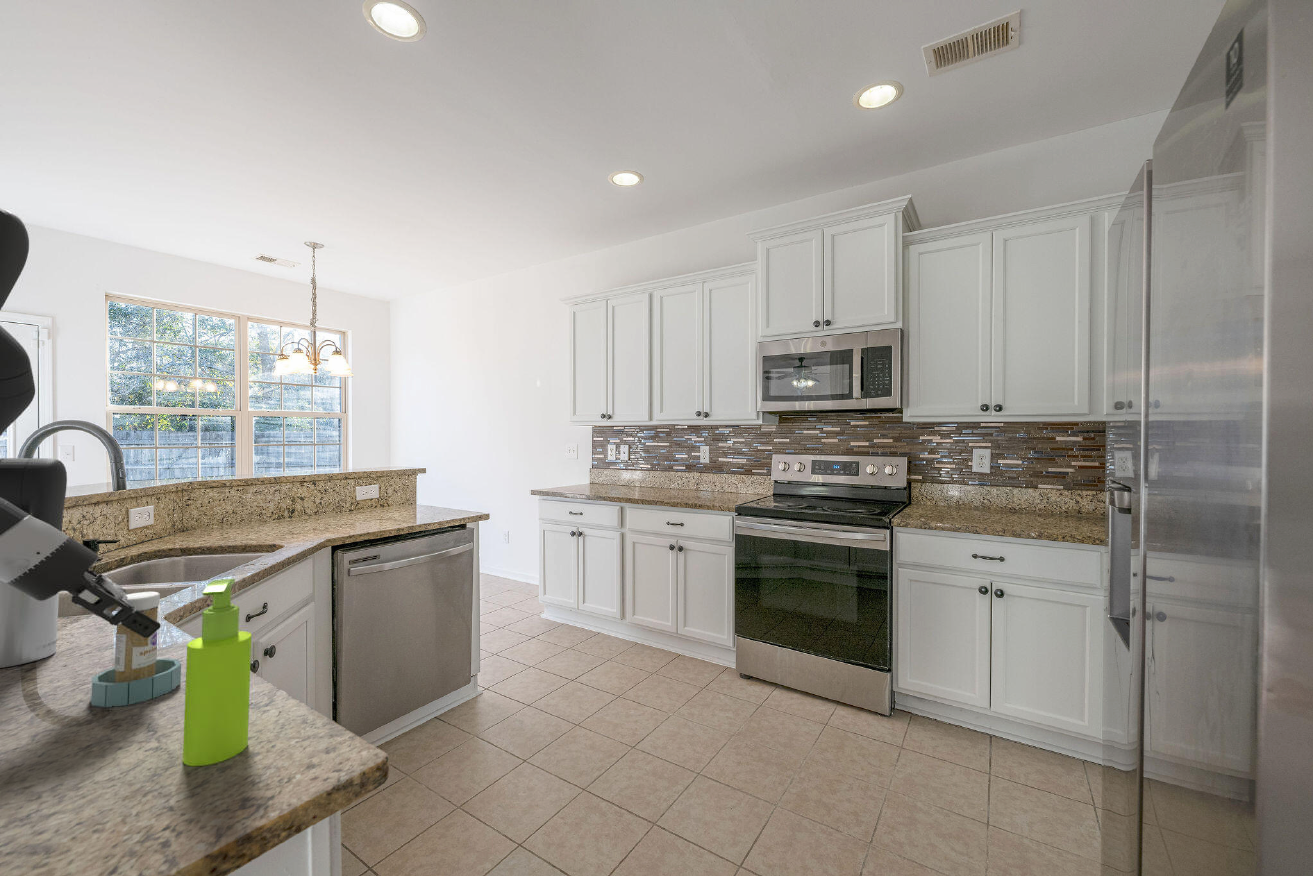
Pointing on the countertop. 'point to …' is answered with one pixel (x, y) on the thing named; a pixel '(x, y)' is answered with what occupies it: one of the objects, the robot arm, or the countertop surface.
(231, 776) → the countertop surface
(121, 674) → the sprinkles bottle
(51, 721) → the countertop surface
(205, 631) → the soap dispenser
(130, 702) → the teal bowl
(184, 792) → the countertop surface
